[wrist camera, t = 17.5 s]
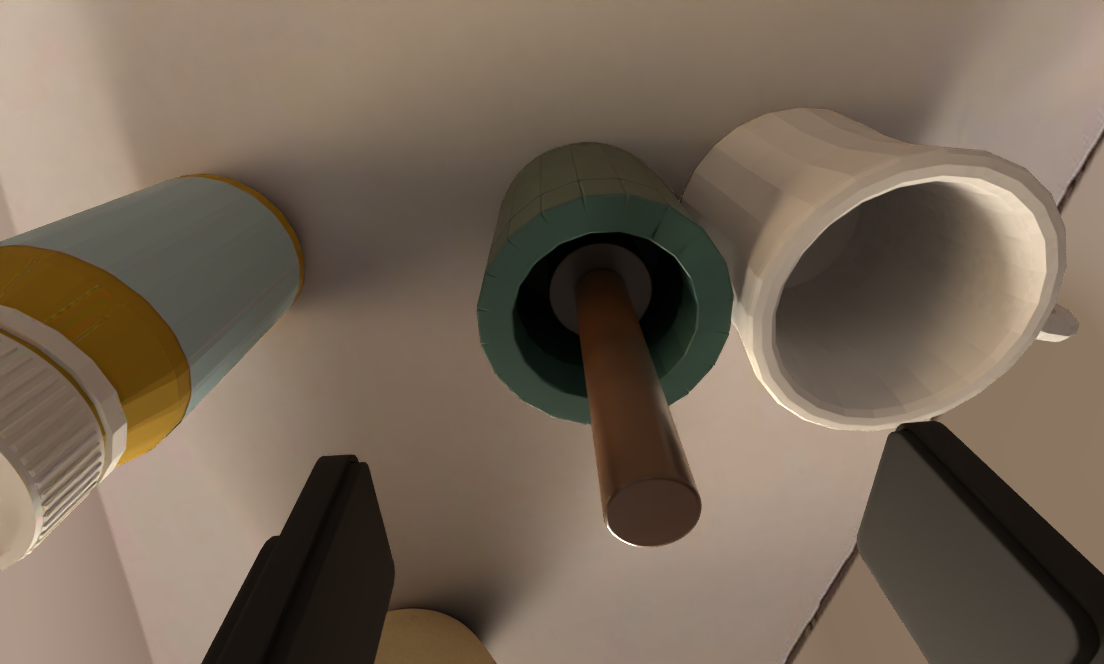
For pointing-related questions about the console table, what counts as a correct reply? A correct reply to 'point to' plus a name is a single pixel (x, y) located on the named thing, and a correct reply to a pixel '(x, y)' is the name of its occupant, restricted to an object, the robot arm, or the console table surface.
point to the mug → (878, 265)
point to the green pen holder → (576, 210)
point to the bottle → (126, 333)
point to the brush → (623, 389)
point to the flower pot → (428, 640)
